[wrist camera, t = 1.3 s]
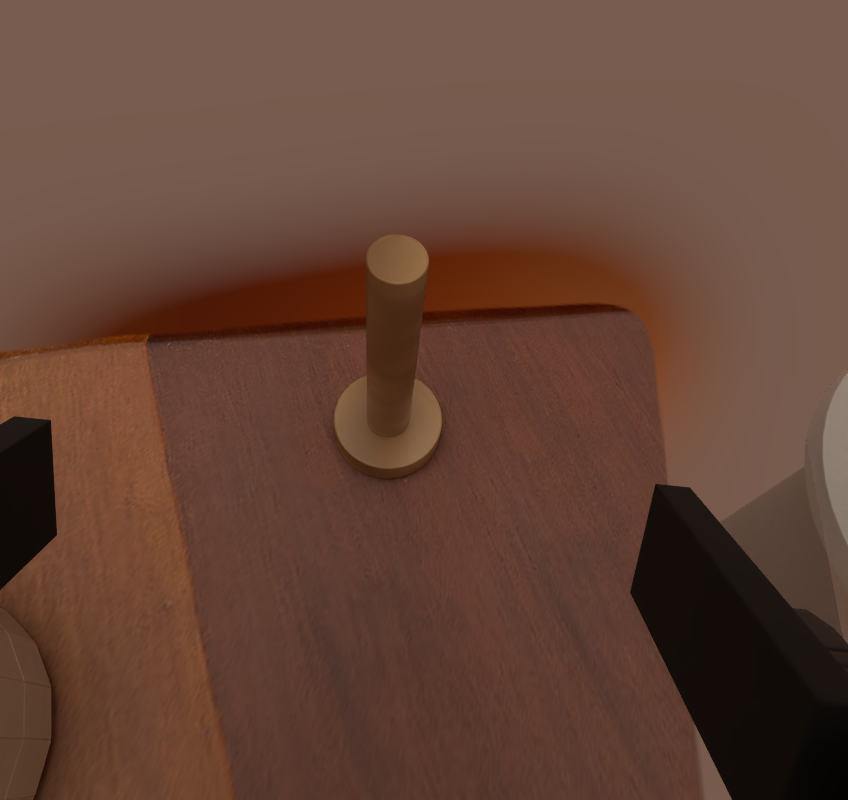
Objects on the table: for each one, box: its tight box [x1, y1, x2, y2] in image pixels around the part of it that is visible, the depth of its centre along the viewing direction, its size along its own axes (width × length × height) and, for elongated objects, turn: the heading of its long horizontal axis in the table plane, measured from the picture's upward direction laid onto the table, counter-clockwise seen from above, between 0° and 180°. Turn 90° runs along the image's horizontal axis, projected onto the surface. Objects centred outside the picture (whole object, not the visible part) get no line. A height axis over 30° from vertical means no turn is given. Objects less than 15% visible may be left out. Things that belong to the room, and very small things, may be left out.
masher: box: [334, 234, 442, 479], centre depth 31 cm, size 6×6×14 cm
